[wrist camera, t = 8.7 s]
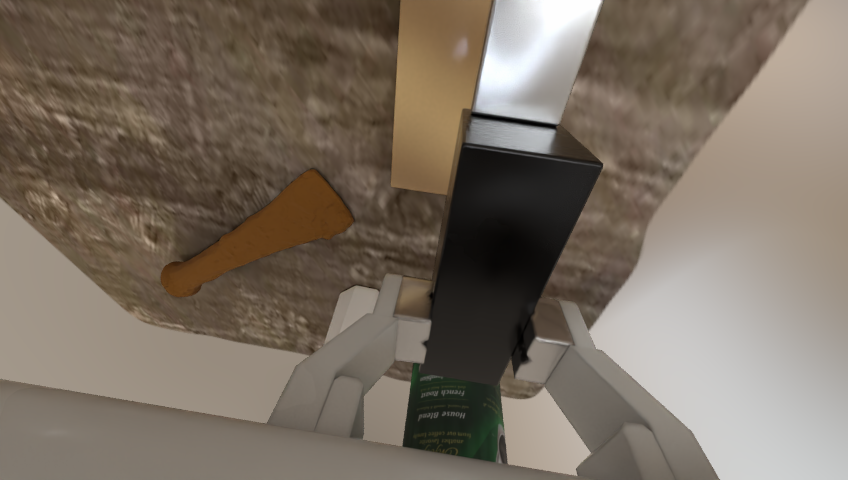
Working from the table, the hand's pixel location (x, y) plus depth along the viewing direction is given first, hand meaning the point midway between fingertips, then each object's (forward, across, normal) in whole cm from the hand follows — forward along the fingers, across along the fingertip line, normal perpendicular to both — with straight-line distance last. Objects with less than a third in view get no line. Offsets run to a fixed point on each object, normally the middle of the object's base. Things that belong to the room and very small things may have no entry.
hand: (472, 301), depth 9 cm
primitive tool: (+14, +17, +10) cm, 24 cm away
